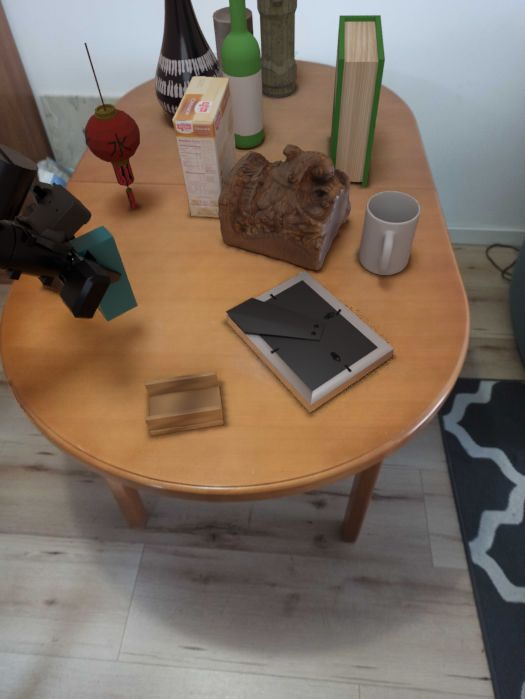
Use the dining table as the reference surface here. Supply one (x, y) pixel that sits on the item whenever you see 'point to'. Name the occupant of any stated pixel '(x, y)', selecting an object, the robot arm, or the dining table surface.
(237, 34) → the bottle
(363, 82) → the hardback book
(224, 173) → the coffeecake box
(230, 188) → the sculpture
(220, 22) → the pillar candle
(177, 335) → the dining table surface
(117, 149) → the lantern
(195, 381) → the stand
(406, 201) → the mug
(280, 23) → the thermos
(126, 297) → the teal rectangular block
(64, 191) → the robot arm
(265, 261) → the dining table surface
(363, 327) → the picture frame
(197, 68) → the vase
